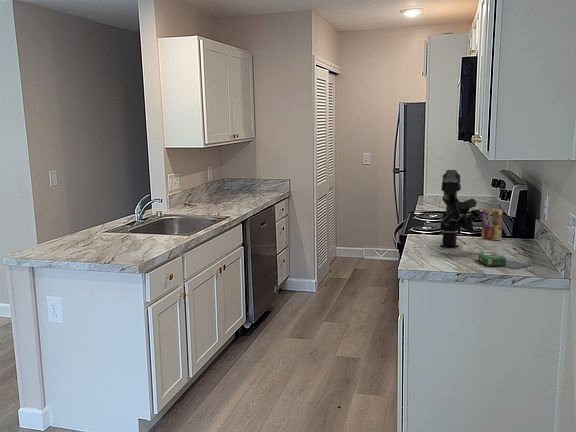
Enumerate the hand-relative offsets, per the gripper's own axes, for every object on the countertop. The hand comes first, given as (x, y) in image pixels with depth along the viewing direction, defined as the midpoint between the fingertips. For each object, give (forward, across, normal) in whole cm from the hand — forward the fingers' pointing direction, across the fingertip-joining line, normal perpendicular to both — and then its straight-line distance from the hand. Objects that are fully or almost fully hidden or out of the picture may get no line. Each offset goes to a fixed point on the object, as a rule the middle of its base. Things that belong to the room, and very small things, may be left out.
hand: (473, 232), depth 231 cm
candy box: (-7, +39, +23) cm, 46 cm away
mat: (+20, 0, -6) cm, 21 cm away
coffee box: (+11, -1, +1) cm, 11 cm away
